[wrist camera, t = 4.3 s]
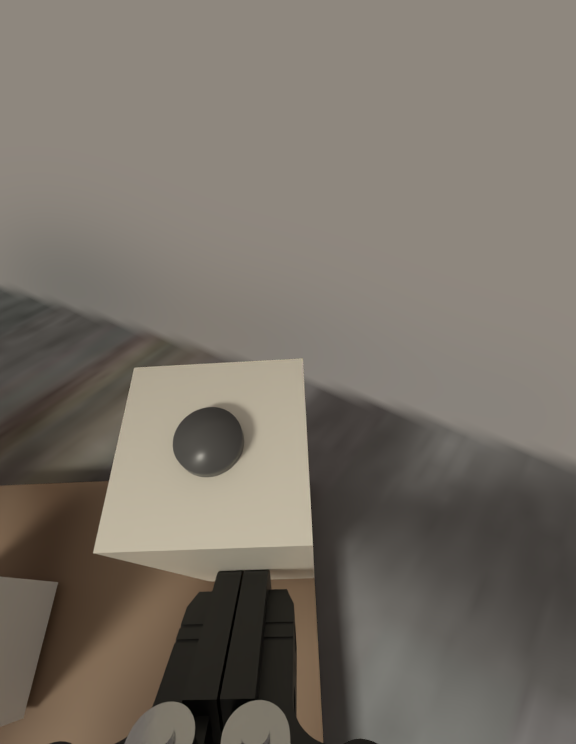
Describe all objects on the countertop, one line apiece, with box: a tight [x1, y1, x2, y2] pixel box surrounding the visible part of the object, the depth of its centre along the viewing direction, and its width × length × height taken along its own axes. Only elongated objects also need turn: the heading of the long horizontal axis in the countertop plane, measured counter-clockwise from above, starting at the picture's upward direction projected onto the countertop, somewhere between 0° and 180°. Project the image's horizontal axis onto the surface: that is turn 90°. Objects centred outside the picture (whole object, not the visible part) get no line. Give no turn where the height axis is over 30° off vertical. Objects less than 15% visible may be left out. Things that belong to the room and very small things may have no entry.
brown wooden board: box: [0, 481, 323, 744], centre depth 15 cm, size 24×12×2 cm, turn 91°
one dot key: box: [93, 358, 314, 581], centre depth 12 cm, size 4×4×9 cm
